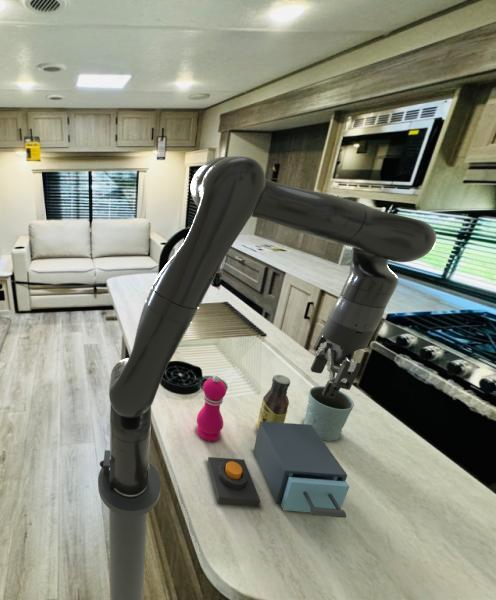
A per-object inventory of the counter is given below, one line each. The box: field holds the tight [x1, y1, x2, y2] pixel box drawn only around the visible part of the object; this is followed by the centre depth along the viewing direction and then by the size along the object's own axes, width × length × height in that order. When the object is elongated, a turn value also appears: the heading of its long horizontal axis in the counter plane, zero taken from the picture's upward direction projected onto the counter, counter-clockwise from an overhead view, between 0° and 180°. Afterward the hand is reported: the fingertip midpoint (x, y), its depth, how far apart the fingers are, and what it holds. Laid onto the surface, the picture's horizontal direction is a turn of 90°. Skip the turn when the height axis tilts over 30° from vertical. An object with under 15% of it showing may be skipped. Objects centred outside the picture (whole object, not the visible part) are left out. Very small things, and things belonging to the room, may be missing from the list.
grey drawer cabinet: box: [252, 422, 348, 505], centre depth 75 cm, size 15×13×11 cm
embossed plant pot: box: [303, 385, 355, 442], centre depth 89 cm, size 10×10×12 cm
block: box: [206, 456, 261, 508], centre depth 76 cm, size 9×11×4 cm
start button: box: [225, 461, 242, 480], centre depth 75 cm, size 4×4×2 cm
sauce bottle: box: [256, 374, 291, 433], centre depth 87 cm, size 6×6×20 cm
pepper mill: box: [196, 375, 227, 442], centre depth 88 cm, size 7×7×20 cm
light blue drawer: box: [280, 473, 350, 519], centre depth 71 cm, size 18×11×9 cm, turn 174°
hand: (321, 383), depth 68 cm, fingers open, 8 cm apart
